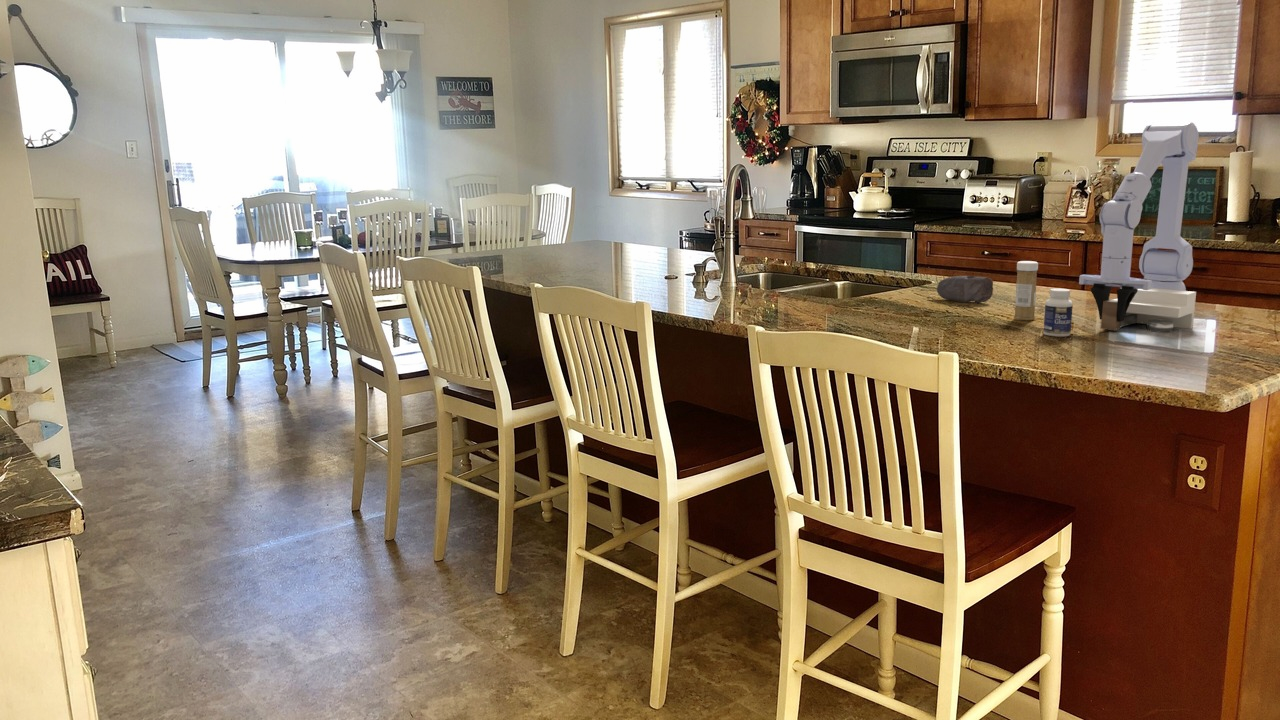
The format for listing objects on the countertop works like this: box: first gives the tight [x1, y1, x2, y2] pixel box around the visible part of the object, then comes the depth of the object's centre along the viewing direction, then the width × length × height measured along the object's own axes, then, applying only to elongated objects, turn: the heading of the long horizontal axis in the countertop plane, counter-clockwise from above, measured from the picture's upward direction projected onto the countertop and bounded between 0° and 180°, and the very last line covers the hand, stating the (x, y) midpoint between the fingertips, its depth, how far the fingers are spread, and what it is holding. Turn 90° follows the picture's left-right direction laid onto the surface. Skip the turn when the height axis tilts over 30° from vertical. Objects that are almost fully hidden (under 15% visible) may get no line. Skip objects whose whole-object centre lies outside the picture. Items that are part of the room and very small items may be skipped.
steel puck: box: [1146, 320, 1174, 333], centre depth 219 cm, size 5×5×2 cm
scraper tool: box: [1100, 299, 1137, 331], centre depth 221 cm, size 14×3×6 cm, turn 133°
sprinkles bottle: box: [1013, 260, 1039, 322], centre depth 233 cm, size 5×5×14 cm
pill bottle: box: [1042, 287, 1074, 338], centre depth 215 cm, size 5×5×10 cm
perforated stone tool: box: [936, 275, 994, 304], centre depth 260 cm, size 15×5×7 cm, turn 41°
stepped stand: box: [1113, 287, 1197, 330], centre depth 222 cm, size 9×15×8 cm, turn 42°
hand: (1111, 320), depth 218 cm, fingers closed on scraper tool, 3 cm apart
